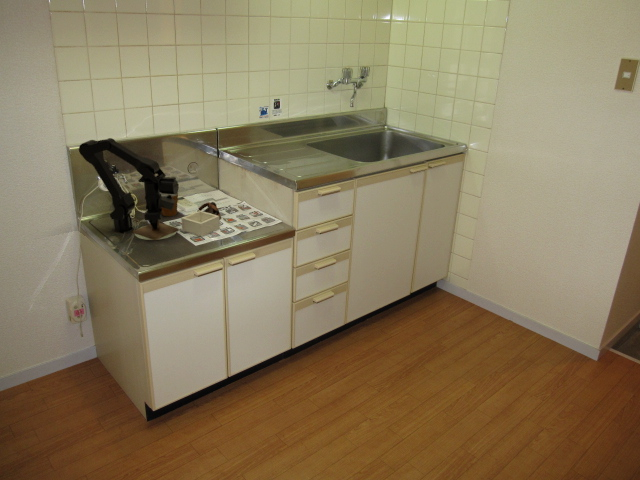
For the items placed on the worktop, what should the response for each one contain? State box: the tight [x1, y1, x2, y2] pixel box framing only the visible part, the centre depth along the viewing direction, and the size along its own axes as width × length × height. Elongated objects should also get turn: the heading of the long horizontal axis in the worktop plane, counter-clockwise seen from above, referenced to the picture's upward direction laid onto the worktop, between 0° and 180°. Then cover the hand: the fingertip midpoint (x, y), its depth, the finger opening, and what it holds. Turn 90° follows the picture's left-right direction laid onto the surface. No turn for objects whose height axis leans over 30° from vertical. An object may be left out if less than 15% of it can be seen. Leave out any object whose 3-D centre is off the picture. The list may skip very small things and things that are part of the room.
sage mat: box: [134, 223, 178, 241], centre depth 226 cm, size 17×17×1 cm
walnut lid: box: [132, 220, 180, 241], centre depth 225 cm, size 13×13×5 cm
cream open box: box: [180, 210, 221, 237], centre depth 229 cm, size 11×11×6 cm
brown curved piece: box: [196, 201, 222, 221], centre depth 243 cm, size 12×10×8 cm
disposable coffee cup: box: [160, 190, 180, 217], centre depth 243 cm, size 10×10×12 cm
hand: (155, 228), depth 226 cm, fingers closed on walnut lid, 3 cm apart
